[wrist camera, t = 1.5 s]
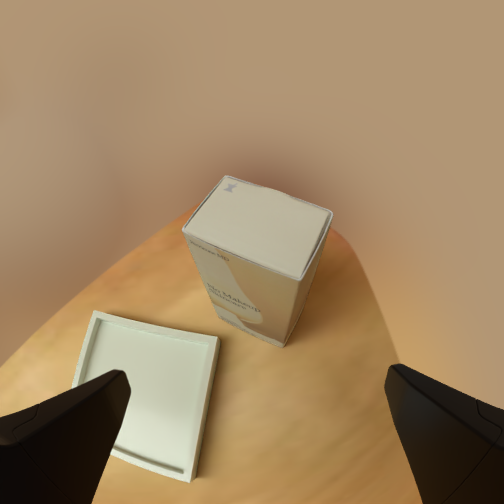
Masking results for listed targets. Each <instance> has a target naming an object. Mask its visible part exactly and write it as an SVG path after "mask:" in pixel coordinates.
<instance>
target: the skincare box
mask: <svg viewBox="0 0 504 504" xmlns="http://www.w3.org/2000/svg"><path fill="white" fill-rule="evenodd" d="M332 218H333V213H332V212H331V211H330V210H328V209H325V208H322V207H319V206H317V205H314V204H311V203H309V202H306V201H303V200H300V199H297V198H294V197H292V196H290V195H287V194H285V193H282V192H280V191H277V190H274V189H270V188H266V187H262V186H259V185H256V184H253V183H250V182H247V181H243V180H240V179H237V178H234V177H231V176H224V177H223V178H222V180H221V181H220V182H219V183H218V184H217V185H216V186H215V188H214V189H213V190H212V191H211V192H210V193H209V195H208V196H207V197H206V198H205V200H204V201H203V202H202V203H201V204H200V205H199V207H198V208H197V209H196V211H195V212H194V213H193V214H192V216H191V217H190V219H189V220H188V221H187V223H186V224H185V225H184V227H183V228H182V232H183V234H184V236H185V239H186V241H187V244H188V246H189V249H190V251H191V254H192V256H193V259H194V261H195V264H196V266H197V269H198V271H199V273H200V276H201V278H202V280H203V283H204V285H205V288H206V290H207V292H208V294H209V297H210V299H211V301H212V304H213V306H214V308H215V311H216V313H217V315H218V317H219V318H221V319H222V320H224V321H226V322H228V323H229V324H231V325H233V326H235V327H237V328H239V329H241V330H243V331H245V332H247V333H249V334H251V335H253V336H255V337H257V338H260V339H262V340H264V341H266V342H269V343H271V344H274V345H276V346H278V347H281V348H283V347H284V346H285V344H286V342H287V340H288V338H289V336H290V334H291V332H292V330H293V329H294V327H295V325H296V323H297V321H298V318H299V316H300V314H301V312H302V310H303V307H304V304H305V302H306V299H307V296H308V293H309V290H310V287H311V284H312V281H313V278H314V276H315V272H316V269H317V266H318V263H319V260H320V257H321V254H322V251H323V248H324V244H325V241H326V238H327V235H328V231H329V228H330V225H331V221H332Z"/></svg>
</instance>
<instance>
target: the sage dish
mask: <svg viewBox="0 0 504 504" xmlns="http://www.w3.org/2000/svg"><path fill="white" fill-rule="evenodd" d="M220 345H221V341H220V340H219V338H218V337H216V336H210V335H204V334H198V333H193V332H187V331H182V330H177V329H171V328H166V327H162V326H157V325H152V324H148V323H143V322H139V321H135V320H130V319H126V318H122V317H118V316H114V315H110V314H106V313H103V312H99V311H95V310H94V311H93V314H92V317H91V320H90V323H89V326H88V329H87V333H86V336H85V339H84V342H83V346H82V349H81V353H80V356H79V360H78V364H77V368H76V372H75V376H74V380H73V384H72V388H75V387H77V386H79V385H81V384H83V383H85V382H88V381H90V380H92V379H94V378H96V377H98V376H100V375H102V374H104V373H106V372H109V371H111V370H113V369H118V370H123V371H125V373H126V375H127V378H128V381H129V384H130V387H131V396H130V399H129V403H128V406H127V409H126V413H125V416H124V420H123V423H122V426H121V429H120V431H119V434H118V436H117V439H116V441H115V444H114V446H113V448H112V451H111V453H110V454H111V455H113V456H115V457H118V458H120V459H122V460H124V461H127V462H129V463H132V464H134V465H137V466H139V467H142V468H145V469H147V470H150V471H153V472H156V473H159V474H162V475H165V476H168V477H171V478H174V479H178V480H181V481H185V482H188V483H191V482H192V481H193V480H194V479H196V473H197V467H198V462H199V456H200V451H201V445H202V439H203V434H204V429H205V423H206V418H207V412H208V407H209V402H210V396H211V391H212V386H213V381H214V375H215V370H216V365H217V360H218V355H219V350H220ZM72 388H71V389H72Z"/></svg>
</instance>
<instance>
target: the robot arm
mask: <svg viewBox="0 0 504 504" xmlns="http://www.w3.org/2000/svg"><path fill="white" fill-rule="evenodd" d="M384 388H385V393H386V396H387V400H388V403H389V407H390V411H391V414H392V418H393V422H394V425H395V428H396V430H397V433H398V435H399V438H400V440H401V443H402V446H403V448H404V451H405V453H406V456H407V459H408V462H409V464H410V467H411V470H412V473H413V475H414V478H415V481H416V484H417V487H418V490H419V493H420V496H421V499H422V502H423V504H504V410H503V409H500V408H497V407H494V406H492V405H490V404H487V403H484V402H482V401H480V400H478V399H477V400H476V399H475V398H473V397H471V396H469V395H467V394H464V393H462V392H460V391H458V390H456V389H454V388H451V387H449V386H447V385H445V384H443V383H441V382H439V381H437V380H434V379H432V378H430V377H428V376H426V375H424V374H422V373H420V372H418V371H416V370H413V369H411V368H409V367H407V366H405V365H403V364H394V365H391V366H390V367H389V369H388V373H387V377H386V381H385V386H384ZM130 396H131V387H130V384H129V381H128V378H127V375H126V373H125V371H123V370H118V369H113V370H111V371H109V372H106V373H104V374H102V375H100V376H98V377H96V378H94V379H92V380H90V381H88V382H85V383H83V384H81V385H79V386H77V387H75V388H72V389H70V390H68V391H66V392H64V393H61V394H59V395H57V396H55V397H52V398H50V399H48V400H46V401H43V402H41V403H40V404H36V405H34V406H32V407H29V408H27V409H24V410H21V411H19V412H16V413H13V414H10V415H6V416H3V417H0V504H91V503H92V501H93V498H94V495H95V492H96V490H97V487H98V484H99V482H100V479H101V476H102V474H103V471H104V469H105V466H106V463H107V461H108V458H109V456H110V453H111V451H112V448H113V446H114V444H115V441H116V439H117V436H118V434H119V431H120V429H121V426H122V423H123V420H124V416H125V413H126V409H127V406H128V403H129V399H130Z"/></svg>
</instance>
